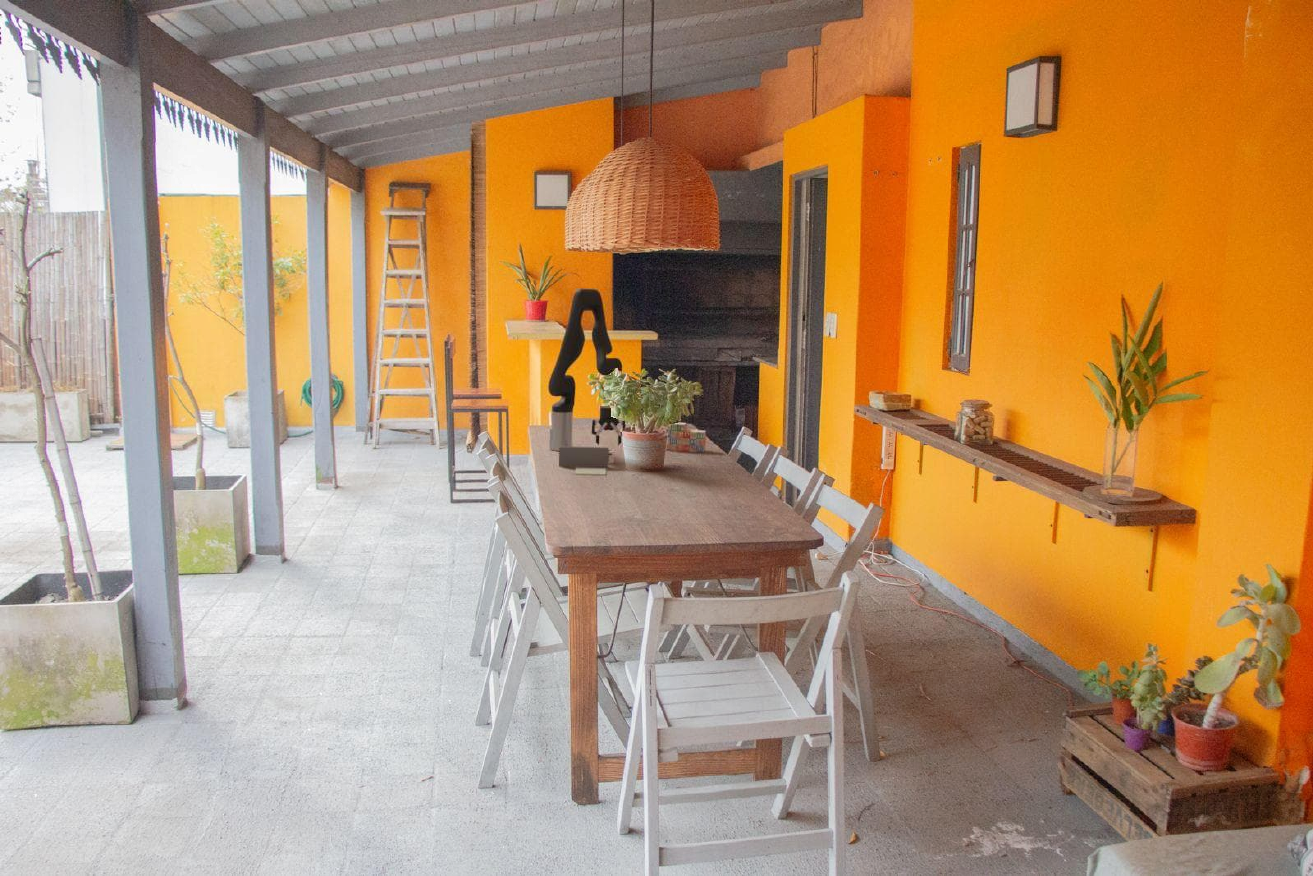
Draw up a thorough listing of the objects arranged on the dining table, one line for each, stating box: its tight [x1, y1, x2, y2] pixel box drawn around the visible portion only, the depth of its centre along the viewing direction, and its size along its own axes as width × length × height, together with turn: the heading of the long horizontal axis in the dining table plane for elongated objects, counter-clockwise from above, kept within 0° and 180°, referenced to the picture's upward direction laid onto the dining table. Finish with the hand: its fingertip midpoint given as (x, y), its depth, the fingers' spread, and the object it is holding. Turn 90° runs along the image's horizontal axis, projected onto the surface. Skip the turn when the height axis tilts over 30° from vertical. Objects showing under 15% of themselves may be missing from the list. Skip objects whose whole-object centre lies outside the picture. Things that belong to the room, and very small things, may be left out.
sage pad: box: [574, 467, 607, 476], centre depth 403 cm, size 12×12×1 cm
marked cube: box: [608, 449, 615, 463], centre depth 424 cm, size 5×5×5 cm
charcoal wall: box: [558, 446, 609, 468], centre depth 413 cm, size 20×2×8 cm, turn 93°
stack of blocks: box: [666, 421, 707, 453], centre depth 460 cm, size 21×6×12 cm, turn 76°
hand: (608, 444), depth 423 cm, fingers open, 8 cm apart
